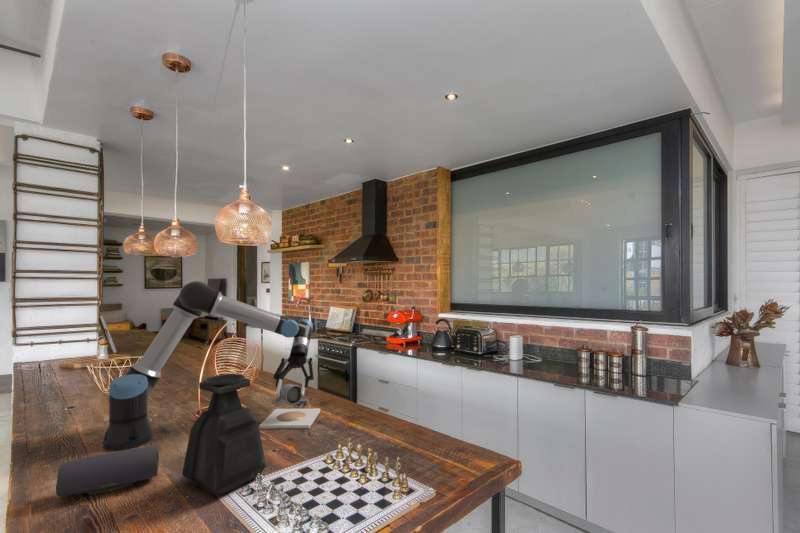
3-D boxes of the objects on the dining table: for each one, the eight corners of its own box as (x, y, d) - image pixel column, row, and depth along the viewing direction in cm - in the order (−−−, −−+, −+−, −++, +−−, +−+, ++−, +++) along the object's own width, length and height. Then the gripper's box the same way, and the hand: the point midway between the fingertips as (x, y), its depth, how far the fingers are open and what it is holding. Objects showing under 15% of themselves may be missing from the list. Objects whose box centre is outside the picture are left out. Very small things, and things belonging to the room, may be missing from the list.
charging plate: (309, 428, 156) (309, 423, 156) (259, 428, 156) (259, 423, 156) (325, 403, 187) (325, 398, 187) (283, 403, 187) (283, 399, 187)
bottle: (180, 484, 114) (181, 380, 115) (232, 461, 128) (232, 369, 129) (215, 503, 104) (216, 389, 105) (267, 476, 118) (267, 376, 119)
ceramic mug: (294, 398, 171) (294, 380, 171) (303, 402, 165) (302, 383, 165) (271, 404, 164) (270, 385, 164) (279, 408, 158) (278, 389, 158)
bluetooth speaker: (158, 471, 122) (159, 439, 122) (156, 485, 114) (156, 450, 114) (64, 491, 111) (65, 455, 111) (54, 508, 103) (55, 469, 103)
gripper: (325, 353, 182) (318, 398, 165) (277, 354, 182) (265, 399, 166) (322, 344, 177) (315, 389, 160) (273, 344, 177) (260, 390, 161)
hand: (289, 394), depth 163 cm, fingers closed on ceramic mug, 10 cm apart
